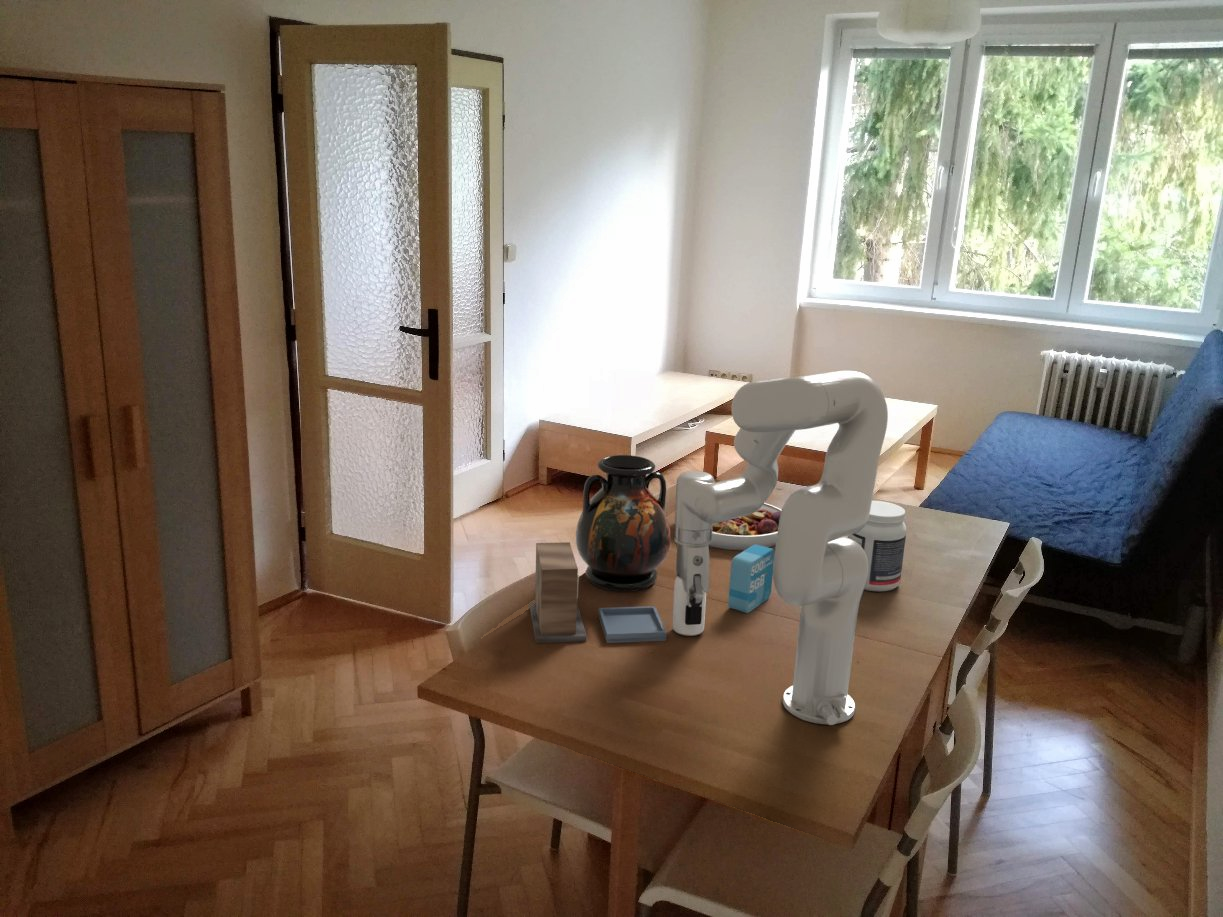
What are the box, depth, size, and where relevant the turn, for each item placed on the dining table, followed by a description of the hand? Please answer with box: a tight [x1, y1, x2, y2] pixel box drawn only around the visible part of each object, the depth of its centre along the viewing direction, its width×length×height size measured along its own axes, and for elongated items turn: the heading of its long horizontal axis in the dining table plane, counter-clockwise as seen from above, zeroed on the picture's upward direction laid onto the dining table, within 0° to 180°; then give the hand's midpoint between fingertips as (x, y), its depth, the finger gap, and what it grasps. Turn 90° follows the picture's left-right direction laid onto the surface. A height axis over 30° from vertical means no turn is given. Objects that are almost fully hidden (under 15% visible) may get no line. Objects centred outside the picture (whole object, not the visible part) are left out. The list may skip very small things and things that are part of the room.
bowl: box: [708, 502, 782, 551], centre depth 257 cm, size 30×30×8 cm
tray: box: [598, 605, 668, 644], centre depth 202 cm, size 12×12×2 cm
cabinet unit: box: [529, 541, 587, 644], centre depth 201 cm, size 16×10×15 cm, turn 9°
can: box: [672, 573, 707, 637], centre depth 200 cm, size 6×6×12 cm
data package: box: [727, 544, 775, 614], centre depth 214 cm, size 12×4×12 cm, turn 145°
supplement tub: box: [847, 500, 908, 592], centre depth 227 cm, size 13×13×18 cm
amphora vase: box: [575, 454, 672, 592], centre depth 222 cm, size 22×22×28 cm
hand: (688, 615), depth 201 cm, fingers closed on can, 6 cm apart
